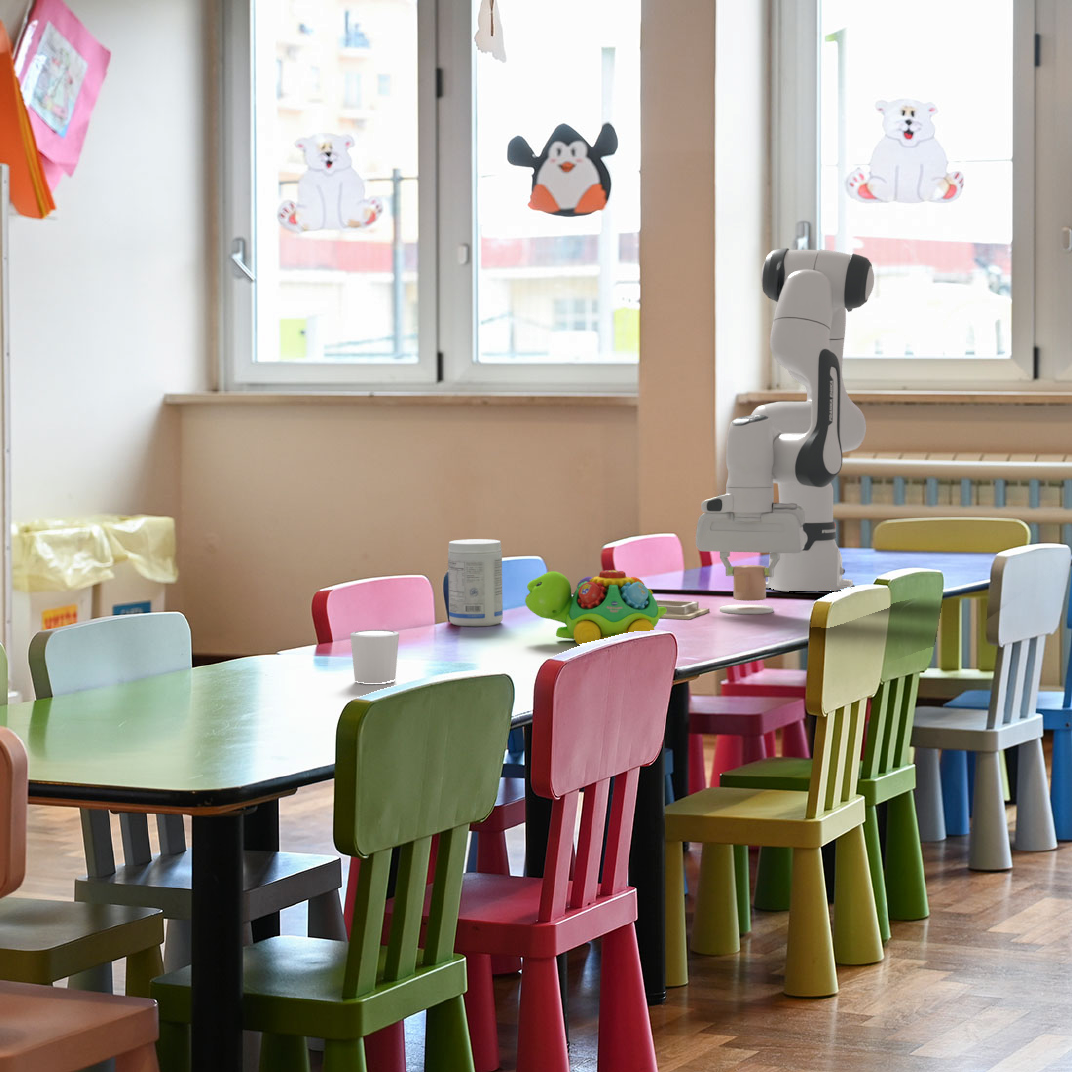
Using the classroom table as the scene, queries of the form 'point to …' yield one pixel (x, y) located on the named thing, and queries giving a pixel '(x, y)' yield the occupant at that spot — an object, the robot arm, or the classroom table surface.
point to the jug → (749, 582)
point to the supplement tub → (475, 582)
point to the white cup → (374, 655)
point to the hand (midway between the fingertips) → (749, 576)
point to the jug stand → (681, 609)
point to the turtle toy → (594, 605)
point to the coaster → (746, 609)
